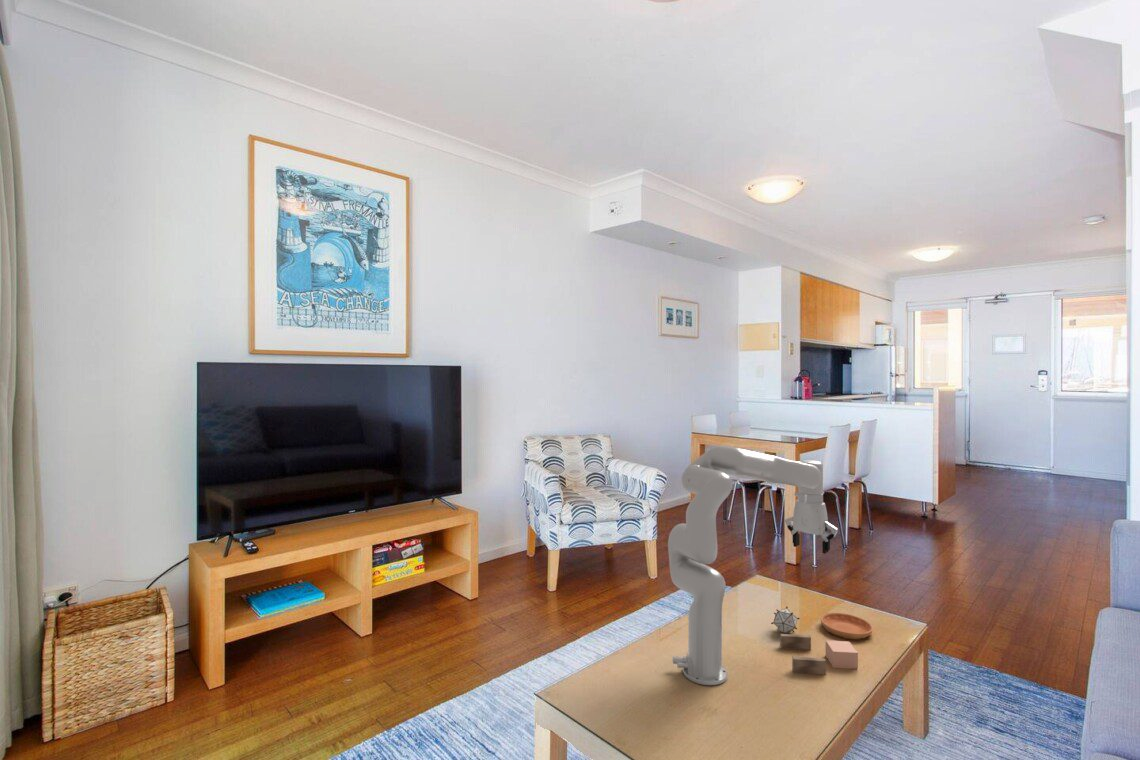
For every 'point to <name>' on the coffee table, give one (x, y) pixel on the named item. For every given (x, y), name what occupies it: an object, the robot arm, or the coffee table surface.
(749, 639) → the coffee table surface
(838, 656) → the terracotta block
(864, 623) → the saucer
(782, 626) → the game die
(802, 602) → the coffee table surface
